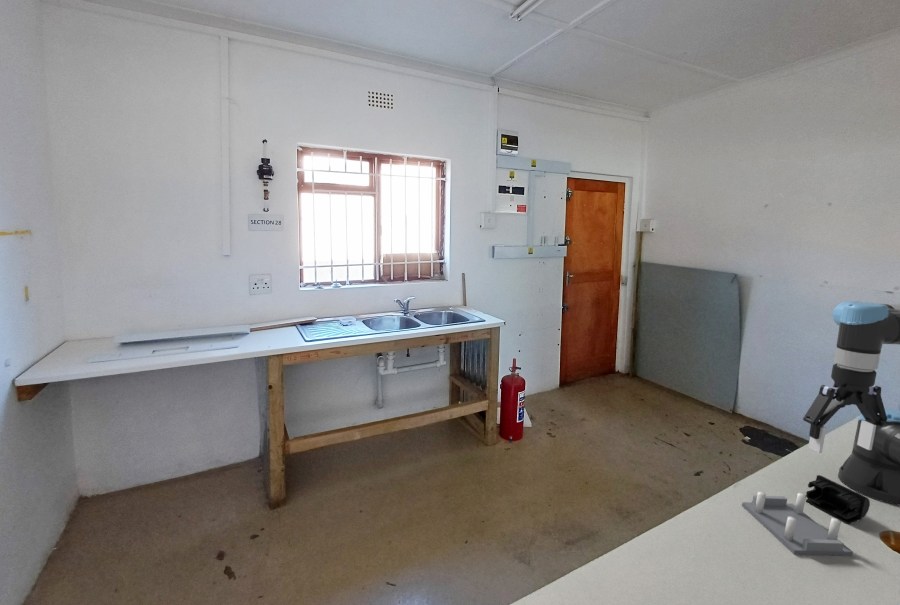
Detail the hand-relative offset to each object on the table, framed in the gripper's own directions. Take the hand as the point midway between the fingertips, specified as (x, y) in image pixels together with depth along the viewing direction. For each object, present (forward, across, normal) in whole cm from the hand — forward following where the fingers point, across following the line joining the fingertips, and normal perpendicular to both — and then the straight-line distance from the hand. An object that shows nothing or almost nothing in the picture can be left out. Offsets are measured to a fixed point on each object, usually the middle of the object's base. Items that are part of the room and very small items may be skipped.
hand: (839, 448), depth 101 cm
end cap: (+18, -2, 0) cm, 18 cm away
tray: (+17, +16, +5) cm, 24 cm away
